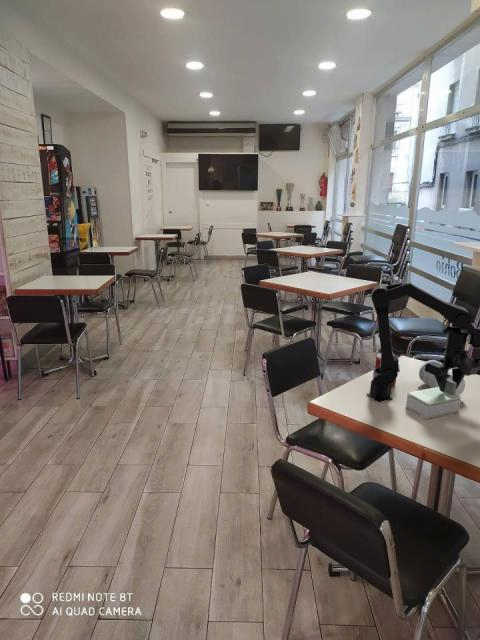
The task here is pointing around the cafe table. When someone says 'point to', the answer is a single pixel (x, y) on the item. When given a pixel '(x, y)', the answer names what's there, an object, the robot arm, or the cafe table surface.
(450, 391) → the lid
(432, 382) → the supplement tub
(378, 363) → the canned food
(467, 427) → the cafe table surface
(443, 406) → the white shallow box
